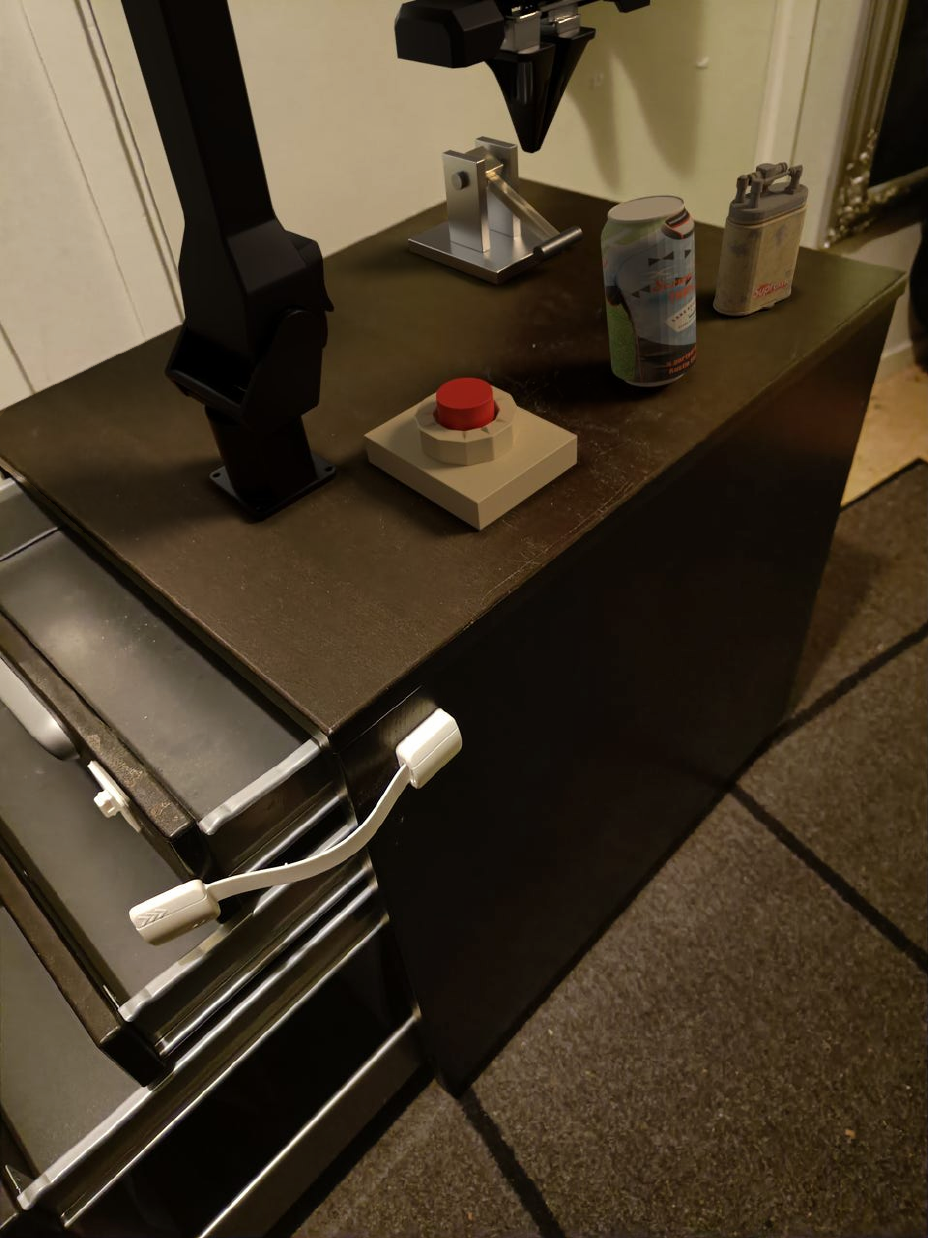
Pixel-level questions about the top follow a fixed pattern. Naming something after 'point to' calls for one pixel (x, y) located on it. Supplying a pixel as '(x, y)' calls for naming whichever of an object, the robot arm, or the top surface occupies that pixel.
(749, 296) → the lighter
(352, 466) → the top surface
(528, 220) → the lever
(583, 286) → the top surface
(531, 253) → the bracket
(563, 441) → the button box
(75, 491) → the top surface
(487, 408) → the button
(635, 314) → the beverage can
